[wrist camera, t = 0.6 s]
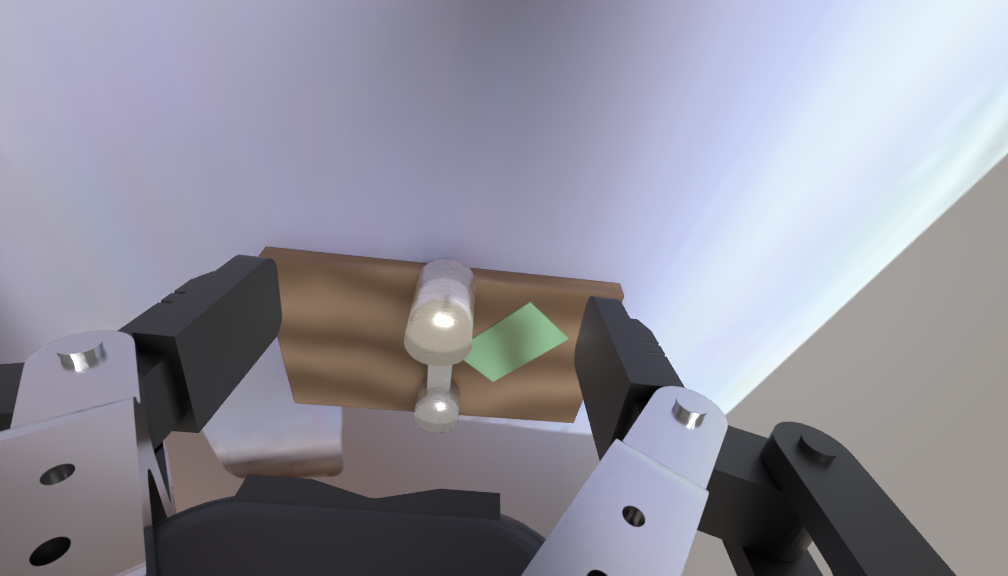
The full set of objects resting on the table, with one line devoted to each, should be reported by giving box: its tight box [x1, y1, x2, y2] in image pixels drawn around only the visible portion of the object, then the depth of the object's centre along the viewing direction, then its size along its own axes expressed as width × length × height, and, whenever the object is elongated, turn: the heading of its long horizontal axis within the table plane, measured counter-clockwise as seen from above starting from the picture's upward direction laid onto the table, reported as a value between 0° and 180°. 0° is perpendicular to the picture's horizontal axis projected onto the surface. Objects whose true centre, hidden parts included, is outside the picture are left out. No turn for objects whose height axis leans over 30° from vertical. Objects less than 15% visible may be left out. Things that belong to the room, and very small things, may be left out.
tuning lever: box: [404, 259, 476, 433], centre depth 31 cm, size 16×4×6 cm, turn 172°
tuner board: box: [258, 247, 624, 423], centre depth 36 cm, size 16×26×2 cm, turn 82°
